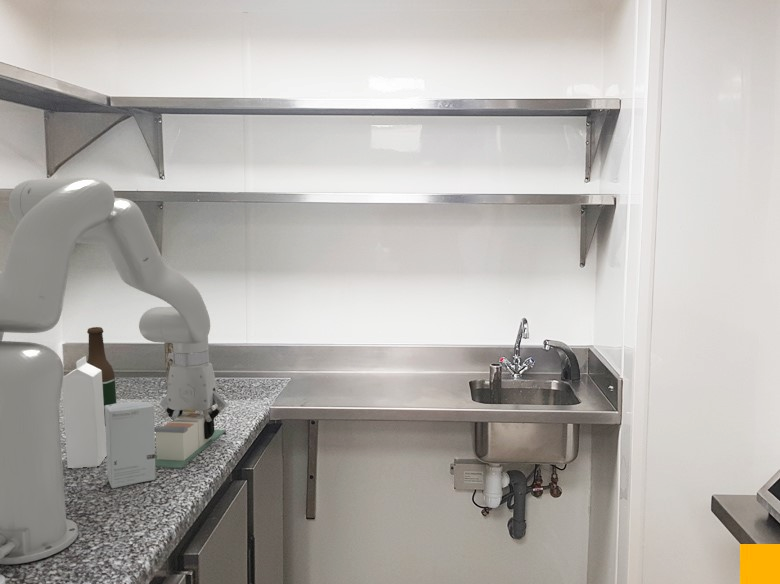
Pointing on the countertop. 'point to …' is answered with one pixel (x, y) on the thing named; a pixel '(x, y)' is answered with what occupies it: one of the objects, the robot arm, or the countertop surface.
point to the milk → (84, 416)
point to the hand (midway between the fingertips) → (194, 435)
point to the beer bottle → (101, 364)
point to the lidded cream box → (176, 440)
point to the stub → (200, 419)
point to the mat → (179, 463)
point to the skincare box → (130, 443)
